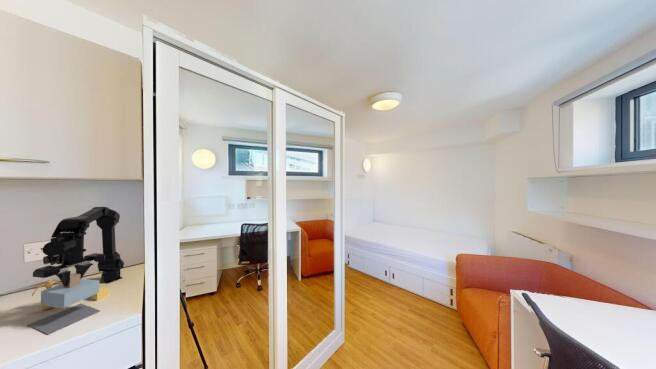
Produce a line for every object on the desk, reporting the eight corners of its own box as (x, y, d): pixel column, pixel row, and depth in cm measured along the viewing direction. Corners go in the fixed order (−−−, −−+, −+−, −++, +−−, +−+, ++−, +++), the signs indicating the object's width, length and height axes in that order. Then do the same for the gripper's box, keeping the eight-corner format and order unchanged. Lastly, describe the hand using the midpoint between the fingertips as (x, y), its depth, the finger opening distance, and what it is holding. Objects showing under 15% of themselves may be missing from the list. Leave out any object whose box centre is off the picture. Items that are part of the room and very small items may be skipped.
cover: (98, 292, 89) (99, 270, 89) (64, 307, 78) (64, 282, 78) (77, 290, 90) (78, 268, 90) (40, 305, 79) (41, 280, 79)
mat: (80, 304, 91) (80, 303, 91) (100, 311, 87) (100, 310, 87) (27, 325, 77) (27, 324, 77) (47, 334, 73) (47, 333, 73)
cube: (103, 294, 99) (103, 286, 98) (108, 296, 97) (108, 288, 97) (91, 299, 95) (91, 291, 95) (97, 300, 94) (97, 292, 94)
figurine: (30, 315, 82) (30, 287, 82) (32, 309, 86) (33, 282, 86) (63, 306, 89) (63, 280, 88) (64, 300, 92) (64, 275, 92)
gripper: (85, 240, 94) (84, 272, 94) (21, 254, 76) (19, 294, 76) (106, 242, 93) (105, 274, 93) (45, 256, 74) (44, 297, 74)
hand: (71, 284), depth 84 cm, fingers closed on cover, 3 cm apart
